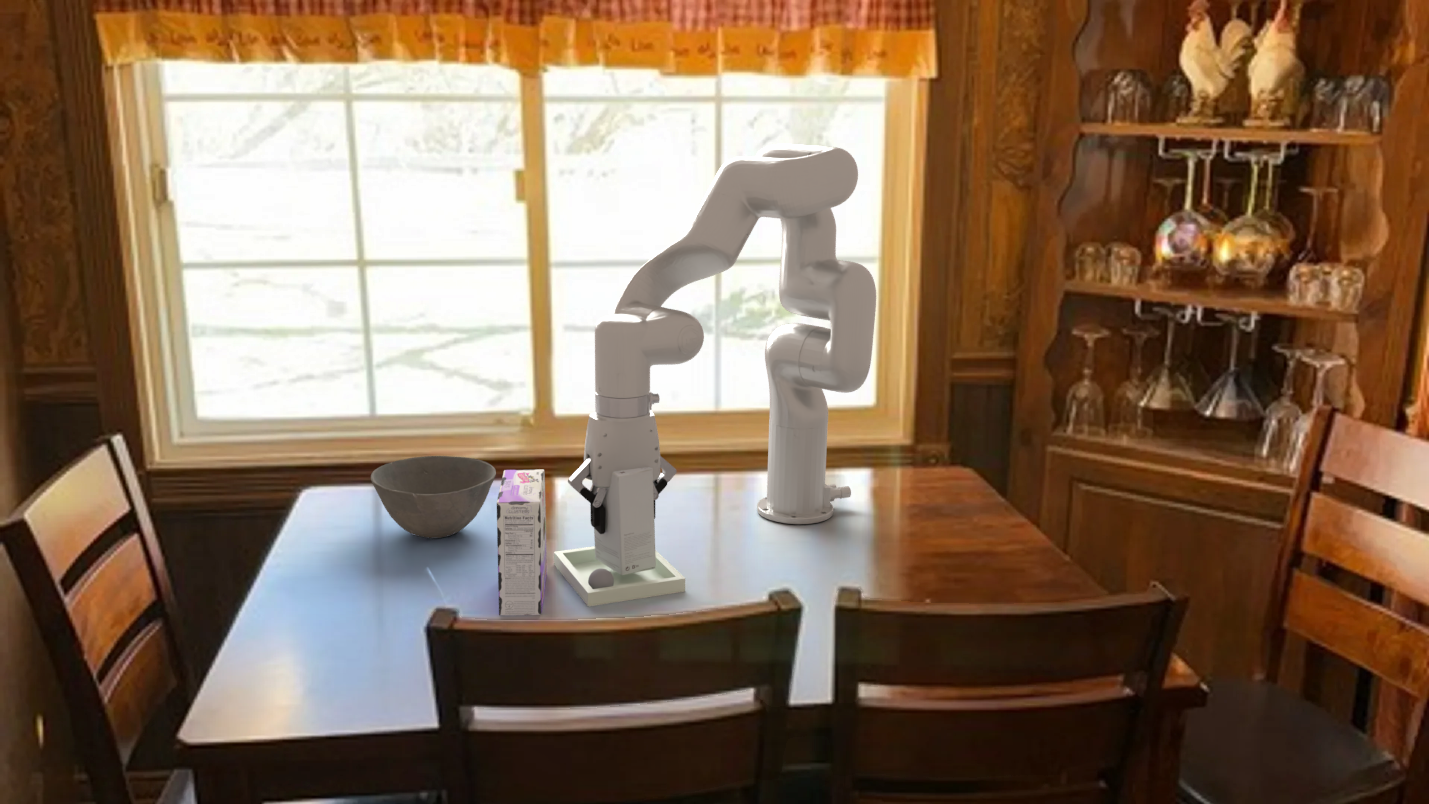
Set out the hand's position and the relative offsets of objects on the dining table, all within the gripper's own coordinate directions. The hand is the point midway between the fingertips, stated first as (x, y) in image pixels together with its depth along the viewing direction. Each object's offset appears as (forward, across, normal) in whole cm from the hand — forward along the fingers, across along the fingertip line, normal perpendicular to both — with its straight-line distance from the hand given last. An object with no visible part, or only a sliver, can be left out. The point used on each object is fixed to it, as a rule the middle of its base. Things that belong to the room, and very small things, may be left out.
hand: (623, 526), depth 173 cm
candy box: (+8, +15, +2) cm, 17 cm away
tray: (+8, +1, +1) cm, 8 cm away
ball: (+7, +5, +6) cm, 10 cm away
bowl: (+8, +21, -27) cm, 35 cm away
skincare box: (+6, 0, 0) cm, 6 cm away
